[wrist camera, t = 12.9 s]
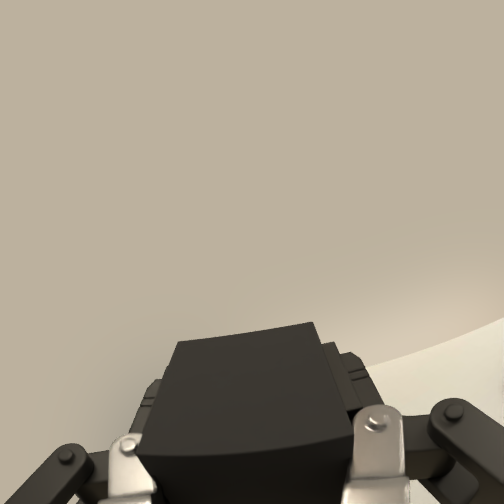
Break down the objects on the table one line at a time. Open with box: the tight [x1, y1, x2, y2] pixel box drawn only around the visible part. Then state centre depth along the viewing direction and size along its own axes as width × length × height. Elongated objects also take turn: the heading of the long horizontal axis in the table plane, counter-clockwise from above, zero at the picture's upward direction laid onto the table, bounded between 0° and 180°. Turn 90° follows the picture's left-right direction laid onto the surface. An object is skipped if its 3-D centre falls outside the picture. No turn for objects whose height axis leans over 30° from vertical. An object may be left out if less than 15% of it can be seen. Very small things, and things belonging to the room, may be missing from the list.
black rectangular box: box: [136, 322, 355, 504], centre depth 9 cm, size 4×5×9 cm
